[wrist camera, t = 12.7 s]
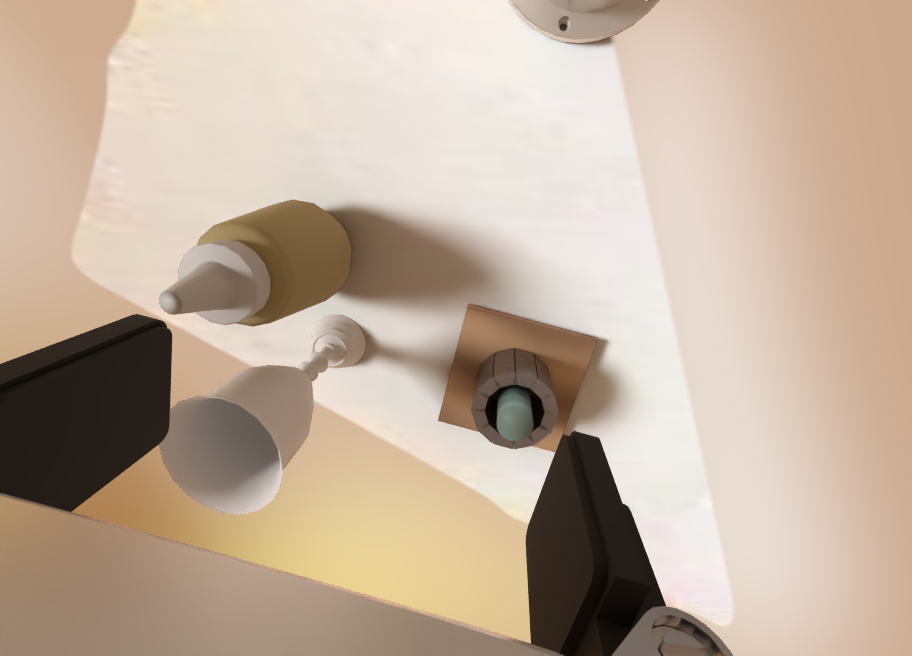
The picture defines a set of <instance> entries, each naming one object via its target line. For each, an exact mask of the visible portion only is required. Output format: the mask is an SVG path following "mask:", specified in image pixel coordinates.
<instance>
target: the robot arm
mask: <svg viewBox="0 0 912 656" xmlns="http://www.w3.org/2000/svg"><path fill="white" fill-rule="evenodd" d="M658 1H659V0H648V1H645V0H508V2H509V3H510V5H511V6H512V7H513V9H514V10H515V11H516V13H517V14H518V16H519V17H520V18H522V19H523V20H524V21H525V22H526V23H527V24H528V25H529V26H530V27H531V28H533V29H535V30H536V31H538V32H540V33H542V34H543V35H545V36H547V37H550V38H553V39H556V40H559V41H563V42H573V43H586V42H593V41H599V40H602V39H605V38H608V37H611V36H614V35H616V34H618V33H620V32H622V31H623V30H625V29H627V28H629V27H630V26H632V25H634V24H635V23H636V22H637V21H638V20H640V19H641V18H642V17H643V16H644V15H646V14H647V13H648V12H649V11H650V10H651V9H652V8H653V7H654V6H655V5H656V3H657V2H658ZM561 24H565V25H566V26H567V29H566V30H565V31H562V30H560V25H561ZM171 358H172V333H171V331H170V330H169V329H167V326H166V324H165V323H164V322H163V321H161V320H157V319H154V318H150V317H146V316H143V315H138V314H135V315H131V316H129V317H126V318H123V319H120V320H118V321H115V322H112V323H110V324H107V325H104V326H102V327H99V328H96V329H93V330H91V331H88V332H85V333H83V334H80V335H77V336H75V337H72V338H69V339H66V340H64V341H61V342H59V343H56V344H53V345H50V346H48V347H45V348H42V349H40V350H37V351H34V352H31V353H29V354H26V355H23V356H21V357H18V358H15V359H13V360H10V361H7V362H5V363H2V364H0V656H733V655H732V653H731V652H730V650H729V649H728V648H727V647H726V645H725V644H724V643H723V641H722V640H721V639H720V638H719V637H718V636H717V635H716V634H715V633H714V632H713V631H712V630H710V628H708V627H707V626H706V625H705V624H704V623H702V622H700V621H699V620H698V619H696V618H695V617H693V616H692V615H690V614H688V613H685V612H683V611H681V610H679V609H676V608H671V607H666V604H665V602H664V599H663V596H662V594H661V591H660V588H659V586H658V583H657V580H656V578H655V575H654V572H653V570H652V567H651V564H650V561H649V559H648V556H647V553H646V551H645V548H644V545H643V543H642V540H641V537H640V535H639V532H638V529H637V526H636V524H635V521H634V518H633V516H632V513H631V511H630V509H629V507H628V506H626V505H625V504H622V501H621V498H620V495H619V492H618V489H617V487H616V484H615V481H614V478H613V475H612V473H611V470H610V467H609V464H608V461H607V459H606V456H605V453H604V450H603V447H602V444H601V442H600V439H599V438H598V437H594V436H591V435H587V434H583V433H579V432H576V431H573V432H572V433H571V435H570V436H566V435H563V436H562V437H561V439H560V442H559V444H558V447H557V450H556V453H555V455H554V458H553V461H552V463H551V466H550V469H549V471H548V474H547V477H546V479H545V482H544V485H543V487H542V490H541V493H540V496H539V498H538V501H537V504H536V506H535V509H534V512H533V514H532V517H531V520H530V522H529V525H528V529H527V534H526V557H527V574H528V595H529V612H530V632H531V644H530V643H527V642H524V641H520V640H518V639H514V638H511V637H508V636H505V635H502V634H499V633H496V632H493V631H490V630H487V629H484V628H481V627H477V626H473V625H470V624H466V623H462V622H459V621H456V620H452V619H449V618H446V617H442V616H439V615H435V614H432V613H429V612H425V611H422V610H418V609H414V608H411V607H408V606H404V605H400V604H397V603H394V602H390V601H386V600H383V599H380V598H376V597H373V596H369V595H366V594H362V593H359V592H355V591H352V590H348V589H344V588H341V587H338V586H334V585H331V584H327V583H323V582H320V581H316V580H313V579H310V578H306V577H303V576H299V575H295V574H292V573H288V572H285V571H282V570H278V569H274V568H271V567H267V566H264V565H260V564H257V563H253V562H249V561H246V560H242V559H239V558H235V557H231V556H228V555H224V554H220V553H217V552H214V551H210V550H206V549H203V548H199V547H195V546H192V545H189V544H185V543H181V542H178V541H174V540H171V539H167V538H163V537H160V536H156V535H153V534H148V533H145V532H142V531H138V530H134V529H131V528H127V527H124V526H120V525H116V524H113V523H109V522H105V521H101V520H98V519H94V518H91V517H87V516H83V515H80V514H76V513H72V511H73V510H74V509H76V507H78V506H79V505H81V504H82V503H83V502H84V501H86V500H87V499H88V498H90V497H91V496H92V495H93V494H95V493H96V492H97V491H99V490H100V489H101V488H103V487H104V486H105V485H107V484H108V483H109V482H111V481H112V480H113V479H114V478H116V477H117V476H118V475H120V474H121V473H122V472H124V471H125V470H126V469H127V468H129V467H130V466H131V465H132V464H134V463H135V462H136V461H138V460H139V459H140V458H142V457H143V456H144V455H146V454H147V453H148V452H149V451H151V450H152V449H153V448H155V447H156V446H157V445H159V444H160V443H161V442H162V441H163V440H164V439H165V437H166V435H167V434H168V431H169V425H170V391H171Z"/></svg>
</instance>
